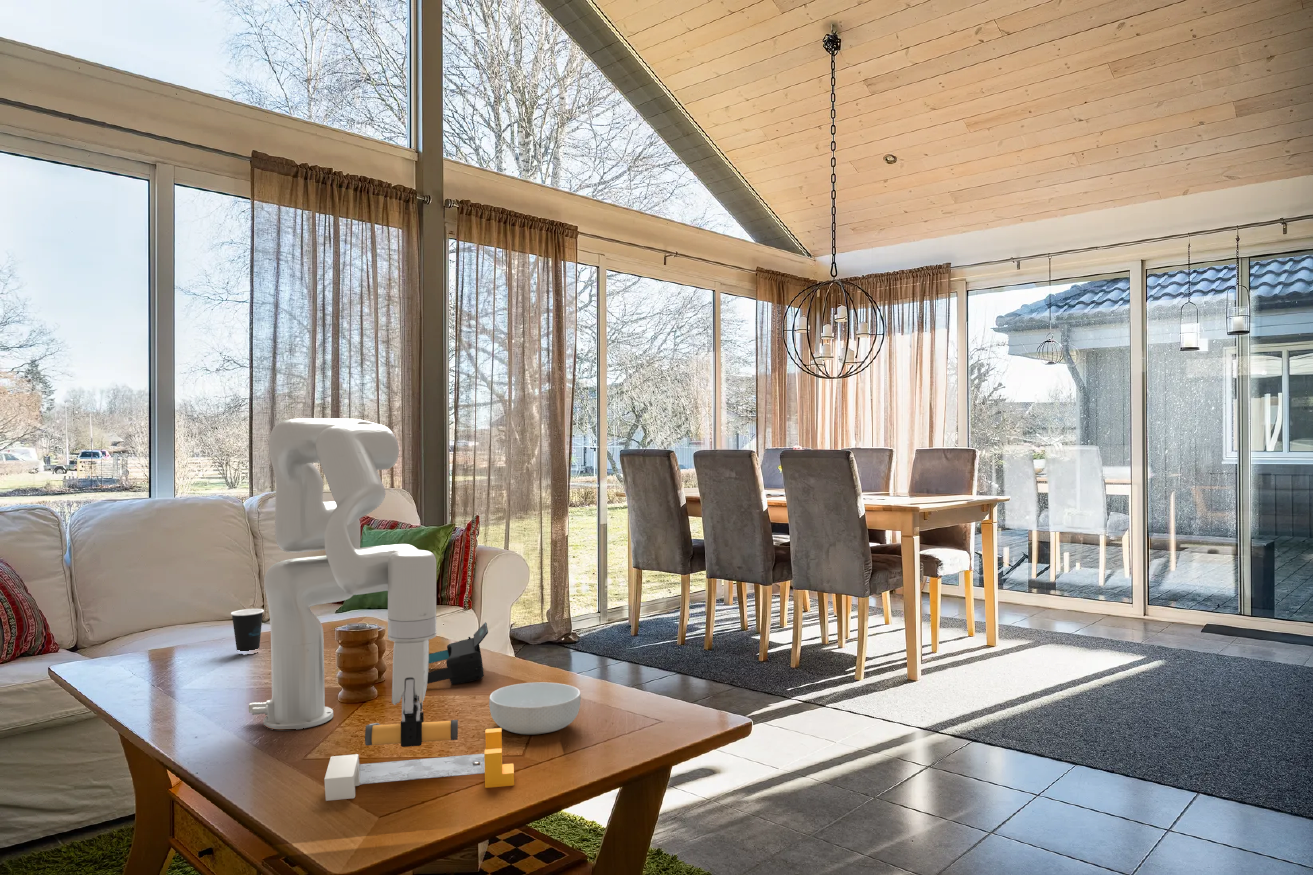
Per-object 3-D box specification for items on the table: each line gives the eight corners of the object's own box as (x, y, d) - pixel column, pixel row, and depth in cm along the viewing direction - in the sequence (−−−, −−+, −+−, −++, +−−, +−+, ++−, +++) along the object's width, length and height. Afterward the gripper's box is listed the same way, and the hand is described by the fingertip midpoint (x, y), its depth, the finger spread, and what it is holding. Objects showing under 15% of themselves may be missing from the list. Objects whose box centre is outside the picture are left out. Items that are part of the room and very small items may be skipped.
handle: (364, 748, 139) (365, 728, 139) (367, 742, 142) (367, 722, 142) (457, 742, 141) (457, 722, 141) (457, 736, 144) (457, 717, 144)
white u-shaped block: (326, 808, 129) (324, 779, 128) (332, 784, 135) (331, 756, 134) (354, 805, 130) (353, 776, 129) (360, 782, 135) (358, 754, 134)
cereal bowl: (555, 751, 151) (554, 710, 151) (472, 742, 157) (471, 702, 157) (596, 721, 167) (595, 684, 167) (519, 714, 173) (518, 678, 173)
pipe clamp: (514, 794, 133) (513, 751, 133) (485, 797, 132) (484, 754, 132) (513, 766, 145) (512, 727, 145) (486, 768, 144) (485, 729, 144)
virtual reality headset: (496, 678, 197) (488, 635, 196) (396, 703, 192) (388, 658, 192) (493, 658, 215) (485, 618, 215) (402, 680, 210) (394, 639, 210)
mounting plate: (339, 794, 134) (339, 784, 134) (348, 772, 143) (348, 764, 143) (485, 780, 138) (485, 771, 138) (486, 760, 147) (485, 752, 147)
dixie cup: (260, 655, 228) (260, 613, 229) (227, 657, 227) (227, 615, 227) (267, 649, 236) (266, 607, 236) (235, 651, 235) (235, 609, 235)
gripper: (393, 617, 149) (393, 726, 149) (381, 641, 133) (382, 762, 133) (439, 616, 150) (439, 723, 150) (433, 639, 134) (433, 759, 134)
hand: (412, 740), depth 142 cm, fingers closed on handle, 3 cm apart
